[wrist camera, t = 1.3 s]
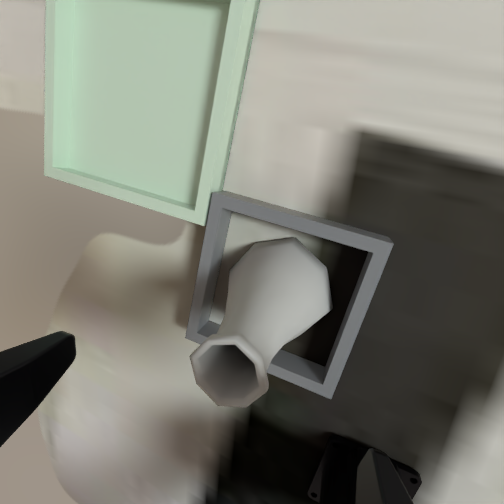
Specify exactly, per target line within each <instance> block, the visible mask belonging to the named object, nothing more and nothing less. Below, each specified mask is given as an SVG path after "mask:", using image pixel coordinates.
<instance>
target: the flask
mask: <svg viewBox="0 0 504 504" xmlns="http://www.w3.org/2000/svg"><path fill="white" fill-rule="evenodd" d="M332 309H333V305H332V298H331V292H330V285H329V278H328V271H327V268H326V267H325V266H324V265H323V264H322V263H321V262H320V261H319V260H318V259H317V258H316V257H315V256H314V255H313V254H312V253H311V252H310V251H309V250H308V249H307V248H306V247H305V246H304V245H303V244H302V243H301V242H300V241H299V240H298V239H297V238H288V239H281V240H274V241H266V242H259V243H255V244H254V245H253V246H252V247H251V248H250V249H249V250H248V251H247V252H246V253H245V254H244V255H243V256H242V257H241V259H240V260H239V261H238V262H237V263H236V264H235V265H234V266H233V267H232V268H231V269H230V272H229V286H228V296H227V304H226V311H225V316H224V319H223V321H222V323H221V325H220V328H219V330H218V332H217V334H212V335H210V336H209V337H208V338H207V339H206V340H205V341H204V342H203V343H202V344H201V345H200V346H199V347H198V348H197V349H196V350H195V351H194V352H193V353H192V354H191V355H190V360H191V364H192V368H193V372H194V376H195V380H196V384H197V385H198V386H199V387H200V388H201V389H202V390H203V391H204V392H205V393H206V394H207V395H208V396H209V397H210V398H211V399H212V400H213V401H214V402H215V403H216V404H217V405H218V406H230V407H247V406H249V405H250V404H251V403H253V402H254V401H255V400H257V399H258V398H259V397H261V396H262V395H263V394H265V393H266V392H267V390H268V386H269V383H268V378H267V373H266V371H267V369H268V367H269V365H270V363H271V360H272V358H273V357H274V356H275V355H276V353H277V352H278V351H279V350H280V349H281V347H282V346H283V345H285V344H286V343H288V342H289V341H291V340H293V339H294V338H296V337H298V336H299V335H301V334H302V333H304V332H305V331H306V330H307V329H309V328H310V327H311V326H312V325H314V324H315V323H316V322H317V321H318V320H320V319H321V318H322V317H323V316H325V315H326V314H327V313H328V312H329V311H331V310H332Z"/></svg>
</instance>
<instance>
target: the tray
mask: <svg viewBox="0 0 504 504" xmlns="http://www.w3.org/2000/svg"><path fill="white" fill-rule="evenodd" d="M259 2H260V0H46V21H45V132H44V136H45V137H44V176H47V177H51V178H54V179H57V180H60V181H63V182H66V183H69V184H73V185H76V186H79V187H82V188H85V189H89V190H91V191H95V192H98V193H101V194H104V195H107V196H110V197H114V198H117V199H120V200H123V201H126V202H129V203H133V204H136V205H139V206H142V207H145V208H148V209H152V210H154V211H158V212H161V213H164V214H167V215H170V216H173V217H177V218H180V219H183V220H186V221H189V222H192V223H195V224H199V225H202V226H205V225H207V220H208V215H209V209H210V204H211V199H212V193H213V192H219V191H222V189H223V184H224V179H225V174H226V169H227V164H228V159H229V154H230V149H231V144H232V139H233V134H234V129H235V124H236V119H237V114H238V109H239V104H240V98H241V93H242V88H243V83H244V78H245V73H246V68H247V63H248V58H249V53H250V48H251V43H252V38H253V33H254V28H255V23H256V18H257V13H258V8H259Z"/></svg>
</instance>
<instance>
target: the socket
mask: <svg viewBox="0 0 504 504" xmlns="http://www.w3.org/2000/svg"><path fill="white" fill-rule="evenodd" d="M232 211H234V212H237V213H241V214H244V215H247V216H251V217H254V218H257V219H261V220H264V221H267V222H271V223H274V224H278V225H281V226H284V227H288V228H291V229H294V230H298V231H301V232H304V233H308V234H311V235H315V236H318V237H321V238H325V239H328V240H331V241H335V242H338V243H341V244H345V245H348V246H352V247H355V248H358V249H362V250H365V251H368V254H367V257H366V260H365V262H364V265H363V268H362V270H361V273H360V276H359V278H358V281H357V283H356V286H355V289H354V291H353V294H352V297H351V299H350V302H349V305H348V307H347V310H346V313H345V315H344V318H343V321H342V323H341V326H340V329H339V331H338V334H337V337H336V339H335V342H334V344H333V347H332V350H331V352H330V355H329V358H328V360H327V363H326V366H325V367H324V366H322V365H319V364H317V363H314V362H312V361H309V360H307V359H304V358H302V357H299V356H297V355H294V354H292V353H289V352H286V351H284V350H281V349H280V350H279V351H278V352H277V353H276V355H275V356H274V357H273V358H272V360H271V363H270V365H269V367H268V369H267V371H266V372H267V373H270V374H272V375H274V376H277V377H279V378H282V379H284V380H286V381H289V382H291V383H293V384H296V385H298V386H301V387H303V388H305V389H308V390H310V391H313V392H315V393H317V394H320V395H322V396H324V397H327V398H329V399H331V398H332V396H333V393H334V391H335V389H336V386H337V384H338V381H339V379H340V376H341V374H342V371H343V369H344V366H345V364H346V361H347V359H348V356H349V354H350V351H351V349H352V346H353V344H354V341H355V339H356V336H357V334H358V331H359V329H360V326H361V324H362V321H363V319H364V316H365V314H366V311H367V309H368V306H369V304H370V301H371V299H372V296H373V294H374V292H375V289H376V287H377V284H378V282H379V279H380V277H381V274H382V272H383V269H384V267H385V264H386V262H387V259H388V257H389V254H390V252H391V249H392V247H393V242H392V241H391V239H390V238H389V237H387V236H383V235H380V234H376V233H373V232H369V231H366V230H362V229H359V228H355V227H351V226H348V225H344V224H341V223H337V222H334V221H330V220H327V219H323V218H320V217H316V216H312V215H309V214H305V213H302V212H298V211H295V210H291V209H288V208H284V207H281V206H277V205H273V204H270V203H266V202H263V201H259V200H256V199H252V198H249V197H245V196H241V195H238V194H234V193H231V192H227V191H219V192H213V193H212V199H211V204H210V209H209V215H208V220H207V225H206V231H205V236H204V241H203V246H202V252H201V257H200V262H199V268H198V273H197V278H196V284H195V289H194V294H193V300H192V305H191V310H190V316H189V321H188V326H187V332H186V337H185V338H186V339H189V340H191V341H194V342H196V343H198V344H202V343H203V342H204V341H205V340H206V339H207V338H208V337H209V336H210V335H212V334H217V332H218V330H219V328H220V325H218V324H216V323H213V322H211V321H209V316H210V312H211V307H212V302H213V297H214V293H215V288H216V283H217V279H218V274H219V269H220V265H221V260H222V255H223V250H224V246H225V241H226V236H227V232H228V227H229V222H230V218H231V213H232Z"/></svg>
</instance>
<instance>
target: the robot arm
mask: <svg viewBox="0 0 504 504" xmlns="http://www.w3.org/2000/svg"><path fill="white" fill-rule="evenodd" d="M75 357H76V345H75V337H74V335H72V334H70V333H67V332H64V331H59V332H56V333H53V334H50V335H47V336H44V337H41V338H39V339H36V340H33V341H30V342H27V343H24V344H21V345H19V346H16V347H13V348H10V349H7V350H4V351H2V352H0V447H1V446H2V445H3V444H4V443H5V442H6V440H7V439H8V438H9V437H10V436H11V435H12V434H13V433H14V432H15V431H16V430H17V429H18V427H20V426H21V424H22V423H23V422H24V421H25V420H26V419H27V418H28V417H29V416H30V415H31V414H32V413H33V411H34V410H35V409H36V408H37V407H38V406H39V404H40V403H41V402H42V401H43V400H44V398H45V397H46V396H47V395H48V393H49V392H50V391H51V389H52V388H53V387H54V386H55V384H56V383H57V382H58V381H59V379H60V378H61V377H62V375H63V374H64V373H65V372H66V370H67V369H68V368H69V367H70V365H71V364H72V363H73V361H74V359H75ZM334 442H335V443H338V444H335V443H334ZM421 483H422V481H421V477H420V474H419V473H418V472H417V471H415V470H413V469H411V468H408V467H406V466H404V465H402V464H399V463H397V462H395V461H393V460H390V459H389V457H388V456H387V454H385V453H384V452H381V451H379V450H376V449H373V448H370V449H369V450H368V449H366V448H364V447H361V446H359V445H357V444H355V443H352V442H350V441H348V440H346V439H343V438H341V437H339V436H336V435H332V436H330V438H329V440H328V442H327V444H326V447H325V449H324V452H323V454H322V456H321V459H320V461H319V463H318V466H317V468H316V471H315V473H314V475H313V478H312V480H311V482H310V485H309V487H308V496H309V497H310V498H311V499H313V500H315V501H317V502H319V504H414V503H413V501H412V499H413V497H414V495H415V494H416V492H417V490H418V489H419V487H420V485H421Z"/></svg>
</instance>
